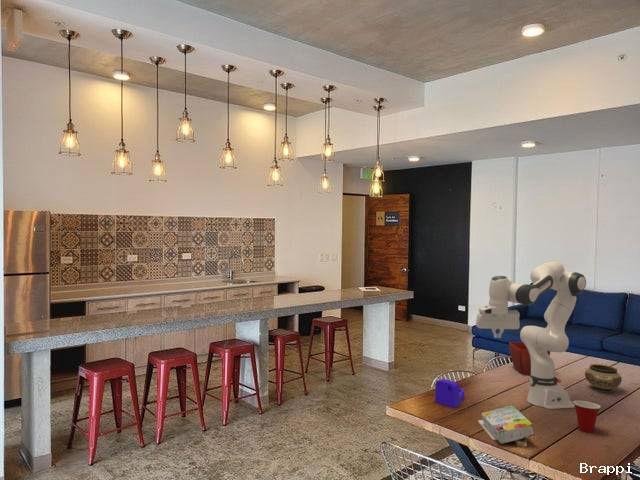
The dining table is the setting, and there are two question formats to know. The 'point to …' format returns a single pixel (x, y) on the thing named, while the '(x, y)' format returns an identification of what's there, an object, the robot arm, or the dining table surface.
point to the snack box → (507, 424)
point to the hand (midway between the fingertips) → (497, 337)
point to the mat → (487, 430)
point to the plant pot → (521, 357)
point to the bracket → (448, 393)
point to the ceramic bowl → (603, 377)
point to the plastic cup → (586, 415)
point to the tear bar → (521, 442)
